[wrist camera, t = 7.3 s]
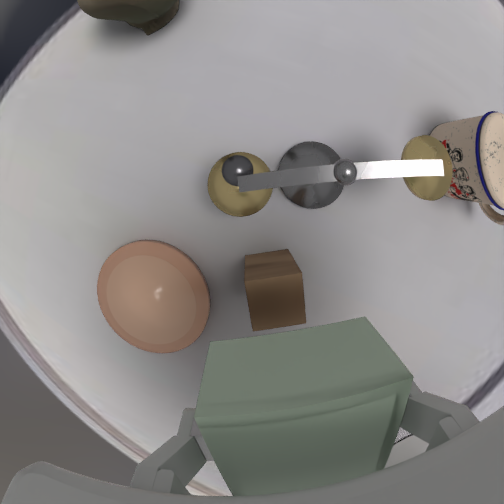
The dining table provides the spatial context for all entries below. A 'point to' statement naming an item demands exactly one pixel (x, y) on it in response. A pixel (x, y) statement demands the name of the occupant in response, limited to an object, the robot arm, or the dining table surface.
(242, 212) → the balance
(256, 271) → the block
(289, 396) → the cover
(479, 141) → the teacup with lid
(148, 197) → the dining table surface
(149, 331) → the saucer
